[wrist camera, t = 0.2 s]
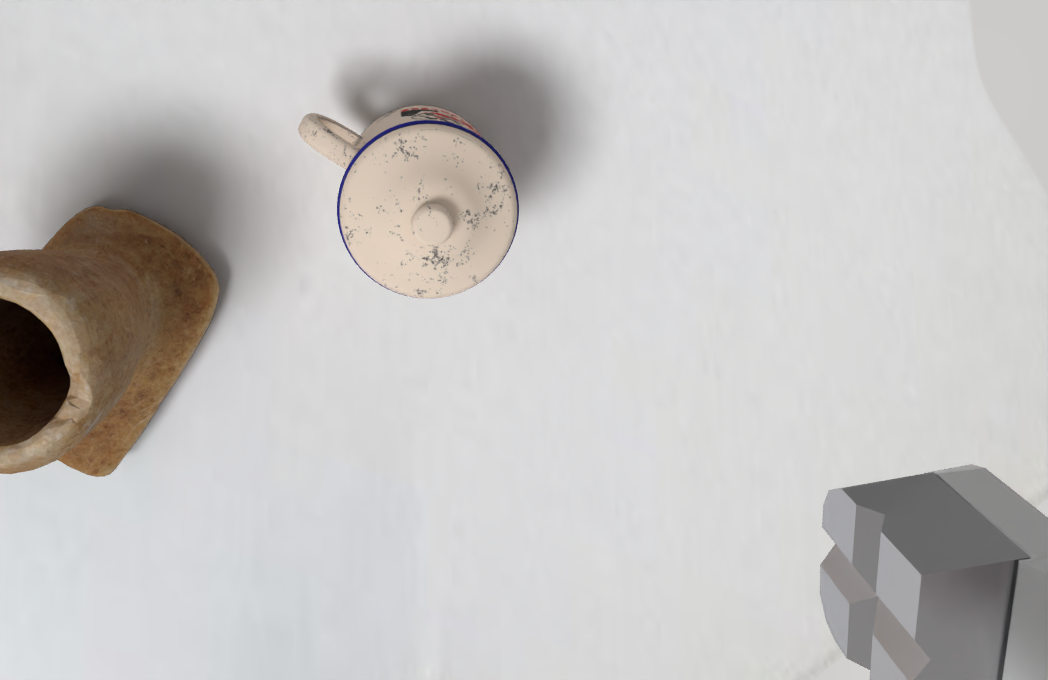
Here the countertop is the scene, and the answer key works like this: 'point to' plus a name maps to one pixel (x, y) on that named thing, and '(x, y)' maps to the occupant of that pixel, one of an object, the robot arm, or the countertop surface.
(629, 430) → the countertop surface
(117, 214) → the stone cup
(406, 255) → the teacup with lid
